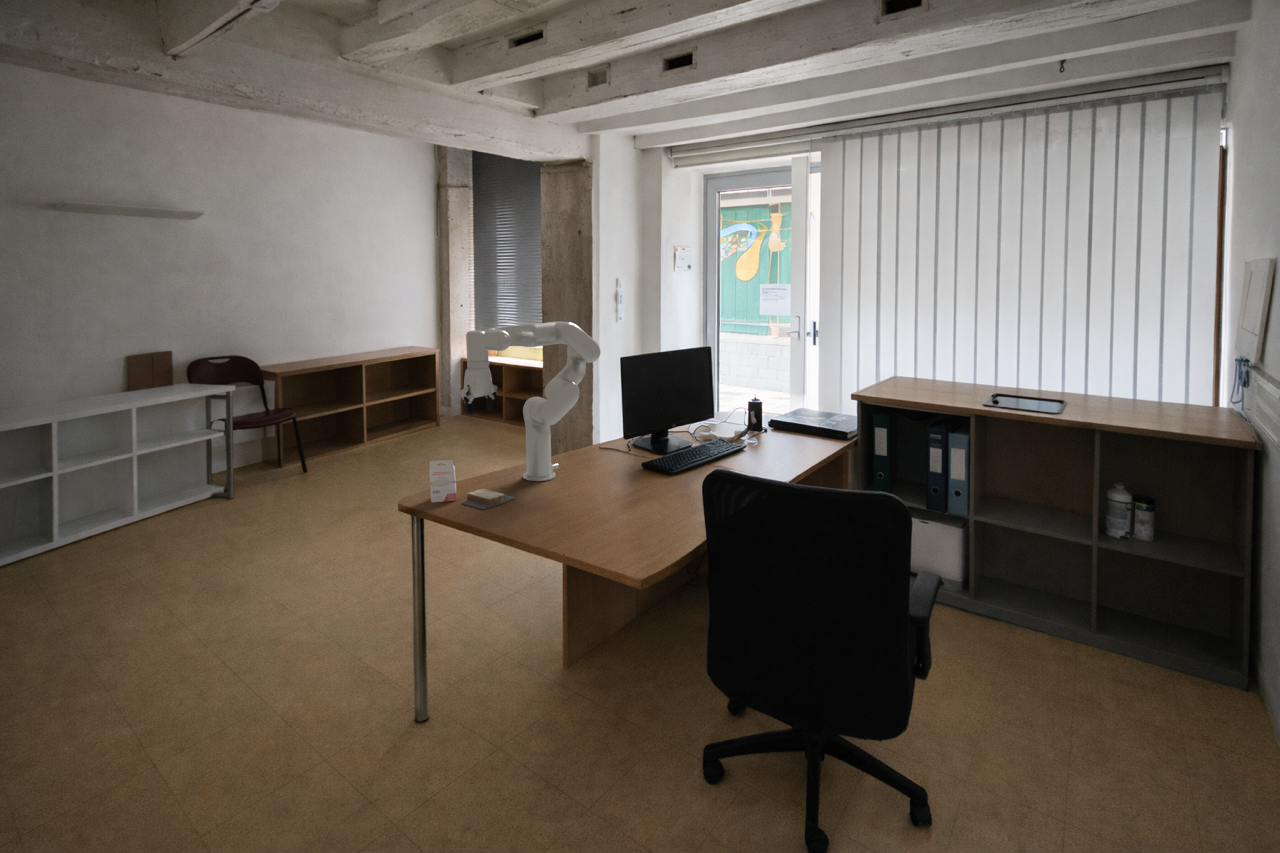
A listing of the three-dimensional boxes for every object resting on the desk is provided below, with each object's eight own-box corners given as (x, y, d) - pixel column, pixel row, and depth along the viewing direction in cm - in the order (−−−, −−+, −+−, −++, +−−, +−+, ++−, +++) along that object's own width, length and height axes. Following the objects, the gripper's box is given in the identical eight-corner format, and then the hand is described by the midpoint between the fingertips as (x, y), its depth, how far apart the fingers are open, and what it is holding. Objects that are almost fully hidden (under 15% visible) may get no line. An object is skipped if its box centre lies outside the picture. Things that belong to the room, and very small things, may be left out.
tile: (482, 488, 249) (467, 493, 244) (504, 494, 243) (489, 498, 238) (482, 495, 250) (467, 500, 244) (504, 500, 244) (489, 506, 238)
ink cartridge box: (456, 497, 250) (455, 456, 247) (456, 501, 245) (454, 460, 242) (431, 498, 248) (429, 457, 245) (430, 502, 243) (428, 461, 240)
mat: (493, 493, 254) (493, 491, 254) (515, 498, 248) (515, 497, 248) (461, 503, 242) (461, 502, 242) (483, 509, 236) (483, 508, 236)
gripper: (488, 362, 262) (490, 407, 266) (452, 366, 248) (454, 414, 252) (502, 363, 258) (504, 409, 262) (466, 368, 244) (468, 416, 248)
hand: (479, 412), depth 257 cm, fingers open, 9 cm apart
